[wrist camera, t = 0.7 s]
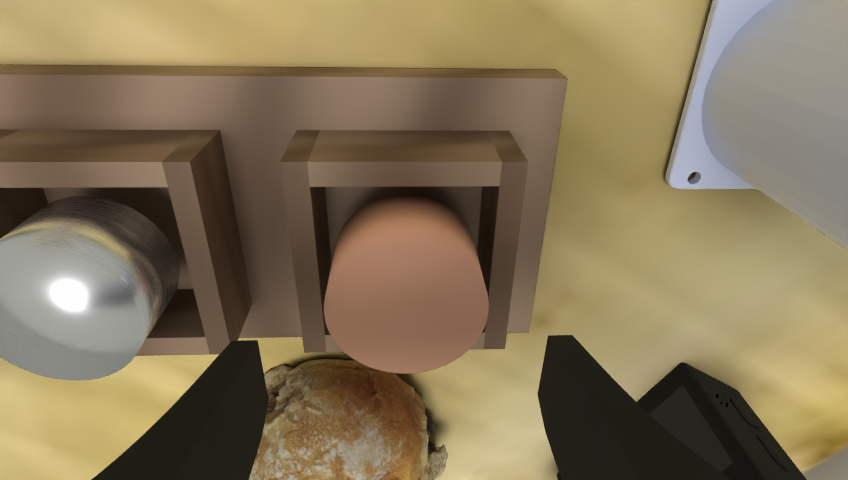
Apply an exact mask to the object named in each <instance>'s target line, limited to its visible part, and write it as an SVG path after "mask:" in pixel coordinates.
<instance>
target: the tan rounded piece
mask: <svg viewBox="0 0 848 480" xmlns="http://www.w3.org/2000/svg"><path fill="white" fill-rule="evenodd" d="M488 312H489V301H488V294H487V290H486V287H485V283H484V279H483V275H482V271H481V268H480V264H479V260H478V256H477V252H476V248H475V245H474V241H473V238H472V235H471V233H470V231H469V229H468V227H467V225H466V224H465V222H464V221H463V220H462V219H461V217H460V216H459V215H458V214H457V213H455V212H454V211H453V210H452V209H451V208H449V207H447V206H446V205H444V204H443V203H440V202H438V201H436V200H434V199H430V198H427V197H423V196H417V195H394V196H388V197H384V198H381V199H378V200H375V201H373V202H371V203H369V204H367V205H365V206H364V207H362V208H360V209H359V210H358V211H357V212H355V213H354V214H353V215H352V216H351V217H350V218H349V219H348V220H347V222H346V223H345V225H344V226H343V227H342V229H341V231H340V233H339V235H338V238H337V241H336V245H335V250H334V255H333V260H332V265H331V270H330V275H329V280H328V285H327V290H326V295H325V301H324V317H325V322H326V325H327V328H328V331H329V333H330V334H331V336H332V338H333V340H334V341H335V342H336V344H337V345H338V346H339V347H340V348H341V349H342V350H343V351H344V352H345V353H346V354H347V355H349V356H350V357H351V358H353V359H354V360H356V361H358V362H359V363H361V364H364V365H366V366H368V367H371V368H374V369H377V370H380V371H385V372H391V373H406V374H407V373H419V372H425V371H429V370H433V369H436V368H439V367H442V366H444V365H446V364H448V363H450V362H452V361H454V360H456V359H457V358H459V357H460V356H462V355H463V354H464V353H465V352H467V351H468V350H469V349H470V348H471V347H472V346H473V345H474V344H475V342H476V341H477V340H478V338H479V337H480V335H481V333H482V331H483V330H484V327H485V325H486V322H487V318H488Z"/></svg>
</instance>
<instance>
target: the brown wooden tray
mask: <svg viewBox="0 0 848 480" xmlns="http://www.w3.org/2000/svg"><path fill="white" fill-rule="evenodd" d="M566 86H567V78H566V77H565V76H563V75H562V74H561V73H560V72H558V71H557V70H556V69H450V68H332V67H213V66H95V65H0V239H1V238H2V237H3V236H5V235H6V234H7V233H9V232H10V231H12V230H13V229H14V228H16V227H17V226H18V225H20V224H21V223H22V222H24V221H25V220H26V219H28V218H29V217H30V216H32V215H33V214H34V213H36V212H37V211H38V210H40V209H41V208H42V207H44V206H45V205H47V204H49V203H51V202H53V201H55V200H58V199H61V198H66V197H71V196H94V197H100V198H105V199H109V200H112V201H115V202H118V203H121V204H123V205H126V206H128V207H130V208H132V209H134V210H136V211H137V212H139V213H140V214H142V215H144V216H145V217H146V218H148V219H149V220H150V221H152V222H153V223H154V224H155V225H156V226H157V227H158V228H159V229H160V230H161V231H162V232H163V233H164V235H165V236H166V237H167V239H168V240H169V242H170V243H171V245H172V246H173V249H174V251H175V253H176V255H177V258H178V262H179V267H180V279H179V284H178V287H177V290H176V292H175V294H174V295H173V297H172V299H171V300H170V302H169V303H168V305H167V307H166V308H165V310H164V311H163V313H162V314H161V316H160V318H159V319H158V321H157V322H156V324H155V326H154V327H153V329H152V330H151V332H150V333H149V335H148V337H147V338H146V340H145V341H144V343H143V344H142V346H141V348H140V349H139V351H138V352H137V354H136V355H135V356H150V355H203V354H220V353H221V352H222V351H223V350H224V349H225V348H226V347H227V345H228V344H229V343H230V342H232V341H238V338H265V337H303V345H304V353H308V352H344V351H343V350H342V349H341V348H340V347H339V346H338V345H337V344H336V342H335V341H334V340H333V338H332V336H331V334H330V333H329V331H328V328H327V325H326V322H325V317H324V301H325V295H326V290H327V285H328V280H329V275H330V270H331V265H332V260H333V255H334V250H335V245H336V241H337V238H338V235H339V233H340V231H341V229H342V227H343V226H344V225H345V223H346V222H347V220H348V219H349V218H350V217H351V216H352V215H353V214H354V213H355V212H357V211H358V210H359V209H360V208H362V207H364V206H365V205H367V204H369V203H371V202H373V201H375V200H378V199H381V198H384V197H388V196H394V195H417V196H423V197H427V198H430V199H434V200H436V201H438V202H440V203H443V204H444V205H446V206H447V207H449V208H451V209H452V210H453V211H454V212H455V213H457V214H458V215H459V216H460V217H461V219H462V220H463V221H464V222H465V224H466V225H467V227H468V229H469V231H470V233H471V235H472V238H473V241H474V245H475V248H476V252H477V256H478V260H479V264H480V268H481V271H482V275H483V279H484V283H485V287H486V290H487V294H488V301H489V312H488V318H487V322H486V325H485V327H484V330H483V331H482V333H481V335H480V337H479V338H478V340H477V341H476V342H475V344H474V345H473V346H472V347H471V348H470V349H505V343H506V335H507V333H529V328H530V321H531V315H532V308H533V302H534V295H535V289H536V282H537V275H538V269H539V262H540V256H541V249H542V243H543V236H544V230H545V223H546V217H547V210H548V203H549V197H550V190H551V184H552V177H553V171H554V164H555V158H556V151H557V145H558V138H559V132H560V125H561V118H562V112H563V105H564V99H565V92H566Z"/></svg>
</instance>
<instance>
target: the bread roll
mask: <svg viewBox="0 0 848 480" xmlns="http://www.w3.org/2000/svg"><path fill="white" fill-rule="evenodd" d="M264 378H265V383H266V389H267V394H268V399H269V401H268V407H267V412H266V418H265V423H264V428H263V433H262V438H261V442H260V445H259V449H258V452H257V455H256V458H255V462H254V465H253V468H252V471H251V474H250V477H249V480H434V479H436V478H438V477H440V476H441V475H442V473H443V471H444V469H445V464H446V460H447V458H448V453H447V452H446V448H445V446H444V445H443V446H442V447H437V448H436V447H435V445H434V444H433V443H432V442H430V441H429V440H428V437H429V436H430V435H431V434H433V431H434V428H435V423H434V421H433V420H432V419H431V418H430V417H429V416H427V414H426V413H425V407H424V406H425V404H424V402H423V399H422V398H421V397H420V396H419V394H417V393H416V392H415V391H414V388H413V387H411V386H409V385H408V384H407V383H406V382H404V381H403V380H402V379H401V378H400V377H398V376H397V375H396V374H394V373H391V372H385V371H380V370H377V369H374V368H371V367H368V366H366V365H364V364H361V363H359V362H358V361H346V360H338V359H320V360H312V361H307V362H304V363H302V364H300V365H298V366H297V367H295V368H294V367H287V366H285V365H284V364H282V365H280V366H278V367H276V368H275V369H273V370H271V371H269V372H268V373H267V374H266V375H265V376H264Z"/></svg>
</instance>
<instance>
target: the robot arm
mask: <svg viewBox="0 0 848 480" xmlns="http://www.w3.org/2000/svg"><path fill="white" fill-rule="evenodd" d="M693 172H696V175H695V176H694V178H692V179H691V180H688V177H689V175H690V174H691V173H693ZM665 179H666V182H667V183H668V184H669V185H670V186H671V187H673V188H675V189H758V190H759V191H761V192H762V193H764V194H765V195H767V196H768V197H769V198H771V199H772V200H774V201H775V202H777V203H778V204H780V205H781V206H783V207H784V208H786V209H787V210H789V211H790V212H792V213H793V214H795V215H796V216H798V217H799V218H801V219H802V220H804V221H805V222H806V223H808V224H809V225H811V226H812V227H814V228H815V229H817V230H818V231H820V232H821V233H823V234H824V235H826V236H827V237H829V238H830V239H832V240H833V241H835V242H836V243H838V244H839V245H841V246H842V247H843V248H845V249H846V250H848V0H713V1H712V5H711V9H710V12H709V16H708V20H707V23H706V27H705V31H704V35H703V38H702V42H701V46H700V49H699V53H698V57H697V61H696V64H695V68H694V72H693V75H692V79H691V83H690V86H689V90H688V94H687V98H686V101H685V105H684V109H683V112H682V116H681V120H680V123H679V127H678V131H677V135H676V138H675V142H674V146H673V149H672V153H671V157H670V161H669V164H668V168H667V172H666V178H665ZM538 398H539V403H540V408H541V413H542V418H543V422H544V427H545V431H546V435H547V438H548V441H549V444H550V447H551V450H552V453H553V456H554V459H555V461H556V464H557V467H558V470H559V473H560V476H561V479H562V480H731V479H730V478H729V477H727V476H726V475H724V474H723V473H721V472H720V471H719V470H717V469H716V468H714V467H713V466H712V465H710V464H709V463H708V462H706V461H705V460H704V459H702V458H701V457H700V456H698V455H697V454H696V453H695V452H693V451H692V450H691V449H690V448H688V447H687V446H686V445H685V444H683V443H682V442H681V441H679V440H678V439H677V438H676V437H675V436H673V435H672V434H671V433H670V432H669V431H667V430H666V429H665V428H664V427H663V426H662V425H661V424H660V423H658V422H657V421H656V420H655V419H654V418H653V417H652V416H651V415H650V414H648V413H647V412H646V411H645V410H644V409H643V408H642V407H641V406H640V405H639V404H638V403H637V402H636V401H635V400H634V399H633V398H632V397H631V396H630V395H629V394H628V393H627V392H626V391H625V390H624V389H623V388H622V387H621V386H620V385H619V384H618V383H617V382H616V381H615V380H614V379H613V378H612V377H611V376H610V375H609V374H608V373H607V372H606V371H605V370H604V369H603V368H602V367H601V366H600V365H599V363H598V362H597V361H596V360H595V359H594V358H593V357H592V356H591V355H590V354H589V353H588V352H587V351H586V349H585V348H584V347H583V346H582V345H581V344H580V343H579V342H578V341H577V340H576V339H575V338H574V337H573V336H572V335H556V336H548V339H547V345H546V351H545V356H544V362H543V368H542V373H541V379H540V385H539V390H538ZM268 401H269V399H268V394H267V389H266V383H265V378H264V373H263V367H262V362H261V357H260V351H259V346H258V341H257V340H251V341H232V342H230V343H229V344H228V345H227V347H226V348H225V349H224V350H223V351H222V352H221V353H220V354H219V356H218V357H217V358H216V359H215V360H214V361H213V362H212V364H211V365H210V366H209V367H208V368H207V369H206V370H205V371H204V373H203V374H202V375H201V376H200V377H199V378H198V379H197V380H196V381H195V383H194V384H193V385H192V386H191V387H190V388H189V389H188V390H187V391H186V392H185V393H184V394H183V395H182V396H181V398H180V399H179V400H178V401H177V402H176V403H175V404H174V405H173V406H172V407H171V408H170V409H169V410H168V411H167V412H166V413H165V414H164V415H163V416H162V417H161V418H160V419H159V420H158V421H157V422H156V423H155V424H154V425H153V426H152V427H151V428H150V429H149V430H148V431H147V432H146V433H145V434H144V435H143V436H142V437H140V438H139V439H138V440H137V441H136V442H135V443H134V444H133V445H132V446H131V447H130V448H128V449H127V450H126V451H125V452H124V453H123V454H122V455H121V456H119V457H118V458H117V459H116V460H115V461H113V462H112V463H111V464H110V465H109V466H108V467H106V468H105V469H104V470H103V471H102V472H100V473H99V474H98V475H97V476H95V477H94V478H93V479H92V480H249V477H250V474H251V471H252V468H253V465H254V462H255V458H256V455H257V452H258V449H259V445H260V442H261V438H262V433H263V428H264V423H265V418H266V412H267V407H268Z"/></svg>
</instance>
